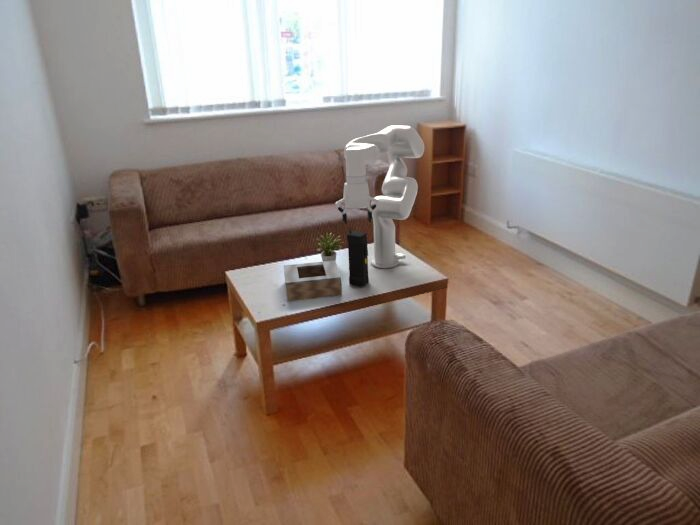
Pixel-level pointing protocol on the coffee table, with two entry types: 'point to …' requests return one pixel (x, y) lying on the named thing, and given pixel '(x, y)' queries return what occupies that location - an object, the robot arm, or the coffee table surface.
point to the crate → (312, 280)
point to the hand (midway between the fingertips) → (357, 221)
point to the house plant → (329, 248)
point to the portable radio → (358, 258)
